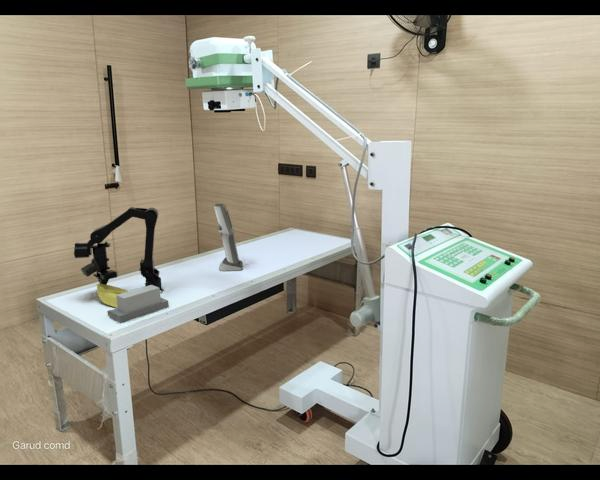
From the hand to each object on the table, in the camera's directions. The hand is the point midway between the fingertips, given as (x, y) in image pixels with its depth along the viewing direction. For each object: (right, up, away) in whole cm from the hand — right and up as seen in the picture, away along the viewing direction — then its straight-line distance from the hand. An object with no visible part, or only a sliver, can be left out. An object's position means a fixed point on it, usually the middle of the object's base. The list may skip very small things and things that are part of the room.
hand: (103, 289), depth 221 cm
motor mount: (+22, -7, -19) cm, 30 cm away
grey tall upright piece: (+54, +7, +39) cm, 67 cm away
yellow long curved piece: (+9, -5, -6) cm, 12 cm away
